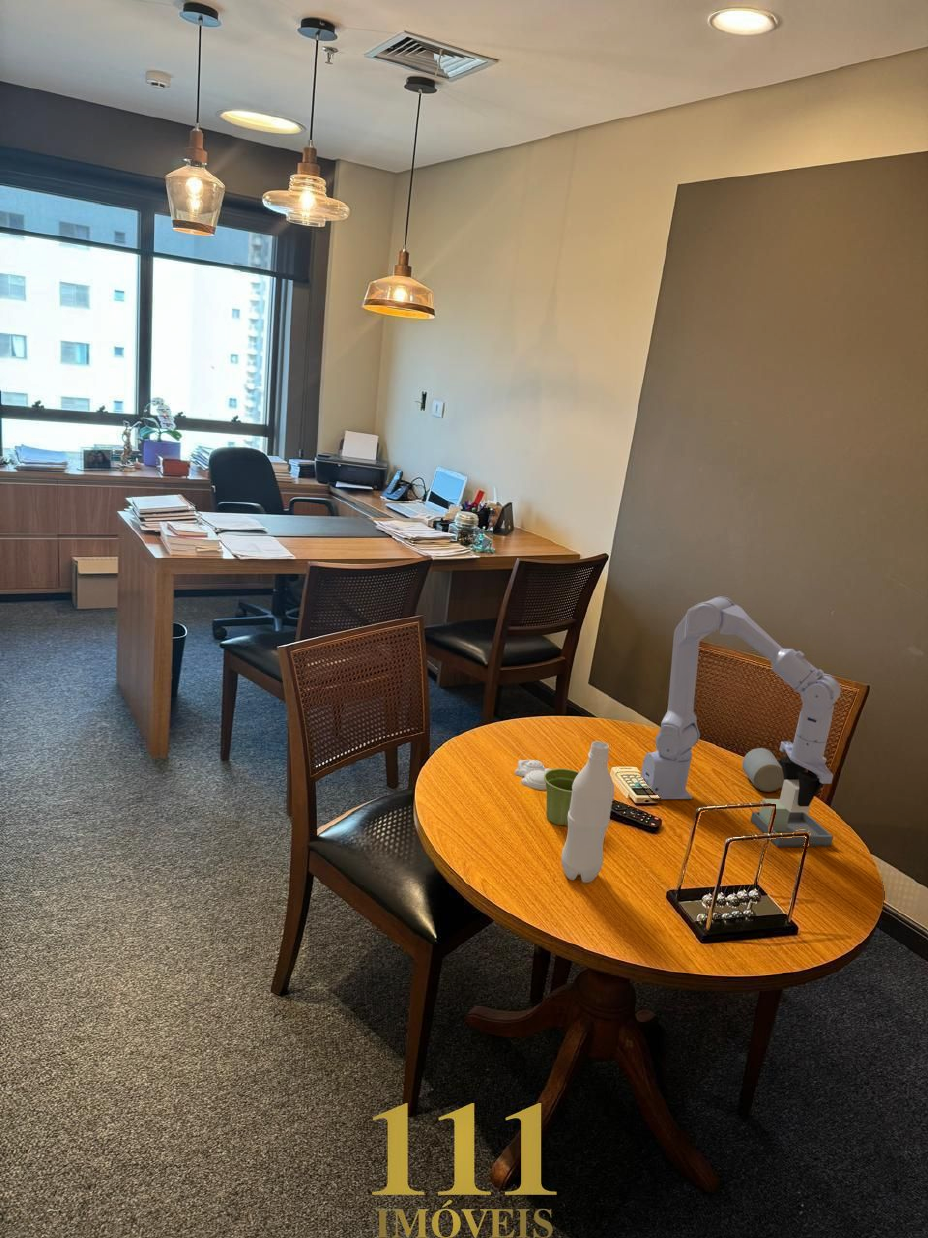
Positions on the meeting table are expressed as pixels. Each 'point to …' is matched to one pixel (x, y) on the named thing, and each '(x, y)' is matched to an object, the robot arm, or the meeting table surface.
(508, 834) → the meeting table surface
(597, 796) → the water bottle
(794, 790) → the grey block
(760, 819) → the tray
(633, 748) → the meeting table surface
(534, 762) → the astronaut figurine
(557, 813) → the plant pot
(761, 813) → the sage block
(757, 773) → the ceramic mug
